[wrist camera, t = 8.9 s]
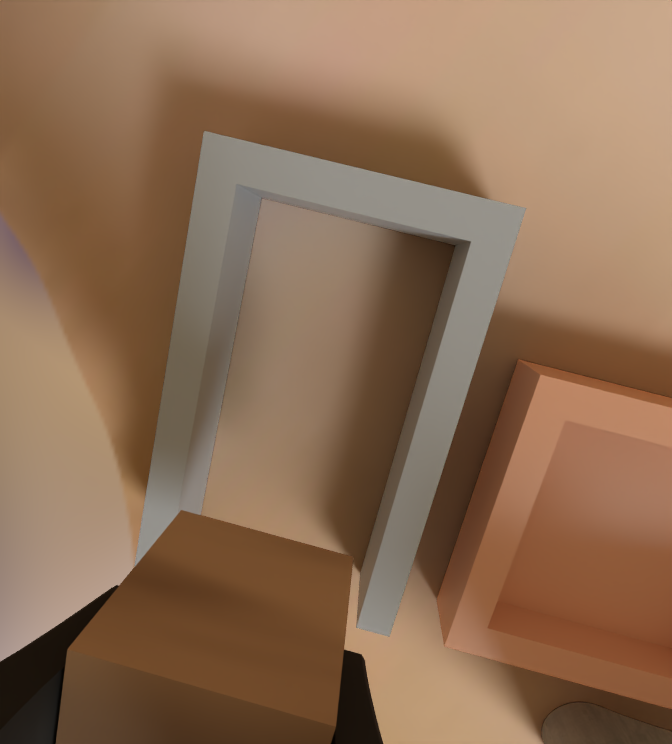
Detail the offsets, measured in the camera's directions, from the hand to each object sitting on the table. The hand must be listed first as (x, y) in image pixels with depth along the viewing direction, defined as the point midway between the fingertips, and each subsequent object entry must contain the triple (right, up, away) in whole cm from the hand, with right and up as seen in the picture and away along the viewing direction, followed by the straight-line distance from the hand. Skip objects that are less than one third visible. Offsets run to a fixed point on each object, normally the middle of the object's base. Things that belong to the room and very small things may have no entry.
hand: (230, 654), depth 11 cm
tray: (+13, +1, +7) cm, 15 cm away
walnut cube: (0, 0, +2) cm, 2 cm away
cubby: (+2, +6, +7) cm, 9 cm away
